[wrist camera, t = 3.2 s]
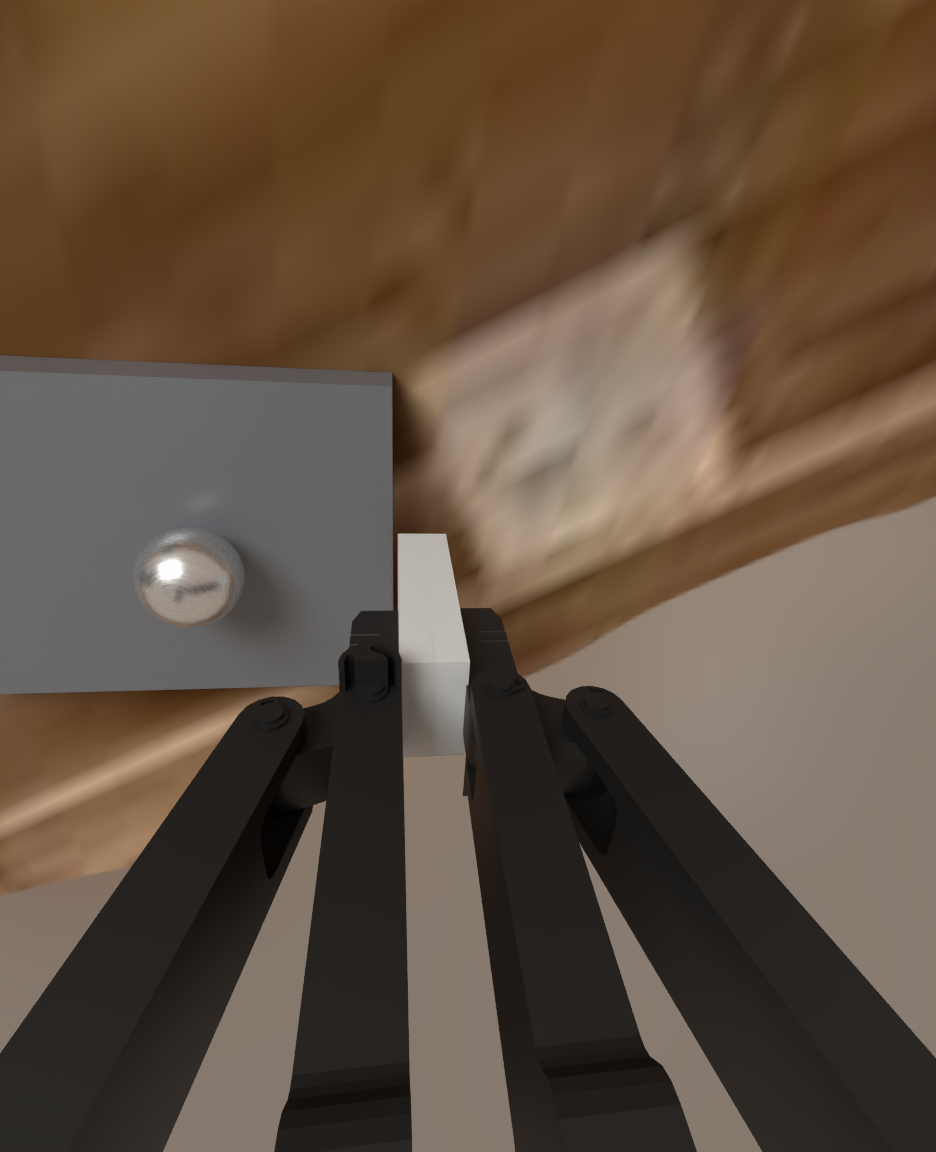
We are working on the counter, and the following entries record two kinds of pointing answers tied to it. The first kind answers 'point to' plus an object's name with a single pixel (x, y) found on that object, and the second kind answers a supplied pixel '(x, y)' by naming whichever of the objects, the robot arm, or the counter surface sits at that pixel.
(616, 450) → the counter surface
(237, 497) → the hole plate
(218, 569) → the steel ball
